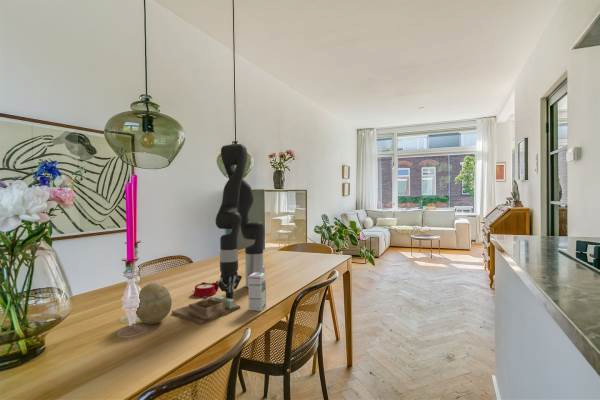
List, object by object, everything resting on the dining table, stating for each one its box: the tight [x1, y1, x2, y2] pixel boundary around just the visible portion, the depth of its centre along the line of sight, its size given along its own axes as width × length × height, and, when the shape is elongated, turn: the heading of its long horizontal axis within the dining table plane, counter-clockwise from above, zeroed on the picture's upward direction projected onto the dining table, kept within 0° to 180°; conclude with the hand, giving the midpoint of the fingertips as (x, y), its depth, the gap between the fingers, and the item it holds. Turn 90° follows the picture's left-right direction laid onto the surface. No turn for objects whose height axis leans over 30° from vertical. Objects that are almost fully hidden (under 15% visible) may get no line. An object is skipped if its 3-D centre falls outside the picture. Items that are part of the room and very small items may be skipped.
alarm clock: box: [191, 281, 220, 298], centre depth 161 cm, size 10×6×15 cm
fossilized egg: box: [135, 281, 173, 325], centre depth 124 cm, size 13×13×15 cm
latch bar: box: [213, 295, 235, 309], centre depth 138 cm, size 2×10×3 cm, turn 55°
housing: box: [171, 296, 241, 325], centre depth 136 cm, size 20×18×5 cm
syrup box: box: [247, 272, 267, 312], centre depth 139 cm, size 6×6×14 cm
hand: (229, 300), depth 140 cm, fingers closed
